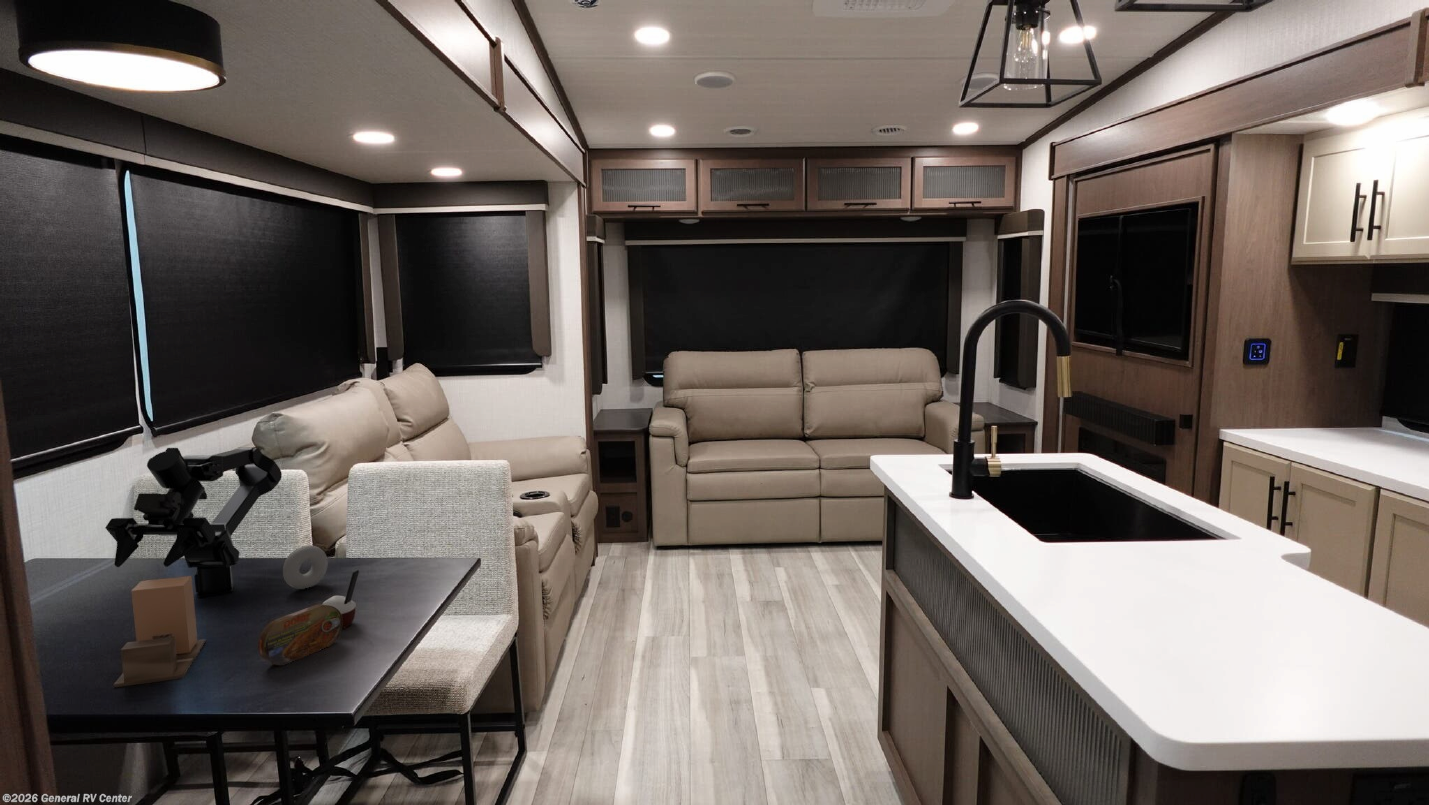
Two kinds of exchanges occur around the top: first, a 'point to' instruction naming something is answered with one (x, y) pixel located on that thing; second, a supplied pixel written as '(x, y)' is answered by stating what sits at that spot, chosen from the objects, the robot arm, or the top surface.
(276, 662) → the tin
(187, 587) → the rectangular block
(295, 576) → the donut
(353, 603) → the cocoa
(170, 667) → the pipe stand
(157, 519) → the robot arm
